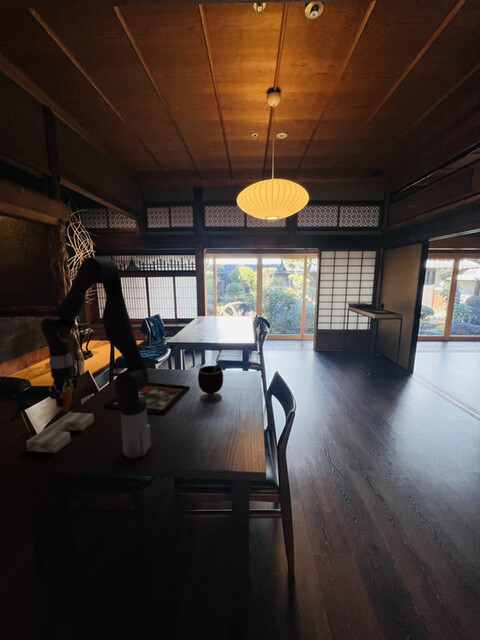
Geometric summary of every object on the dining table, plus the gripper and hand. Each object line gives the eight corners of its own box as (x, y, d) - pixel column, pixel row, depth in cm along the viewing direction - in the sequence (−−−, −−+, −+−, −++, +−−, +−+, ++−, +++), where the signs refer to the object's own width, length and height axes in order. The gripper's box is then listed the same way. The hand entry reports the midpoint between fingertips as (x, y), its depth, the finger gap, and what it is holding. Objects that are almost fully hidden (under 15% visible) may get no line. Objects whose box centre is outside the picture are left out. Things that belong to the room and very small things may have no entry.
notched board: (94, 421, 120) (93, 413, 119) (55, 453, 98) (54, 443, 97) (70, 420, 121) (69, 412, 120) (27, 450, 99) (26, 441, 99)
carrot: (58, 412, 107) (54, 378, 105) (72, 408, 111) (68, 375, 108) (60, 417, 104) (56, 382, 102) (74, 412, 107) (71, 378, 105)
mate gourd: (211, 407, 134) (210, 370, 130) (193, 399, 142) (192, 365, 139) (230, 396, 146) (230, 363, 143) (212, 390, 154) (212, 358, 151)
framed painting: (191, 386, 160) (191, 382, 160) (171, 416, 126) (171, 411, 125) (134, 384, 164) (134, 380, 163) (99, 413, 129) (98, 408, 129)
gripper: (55, 371, 97) (60, 412, 99) (82, 359, 111) (85, 396, 113) (37, 370, 97) (42, 411, 100) (66, 358, 111) (70, 395, 114)
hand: (65, 403), depth 107 cm, fingers closed on carrot, 5 cm apart
